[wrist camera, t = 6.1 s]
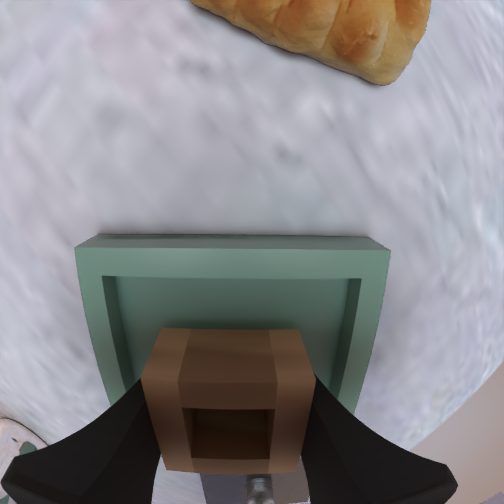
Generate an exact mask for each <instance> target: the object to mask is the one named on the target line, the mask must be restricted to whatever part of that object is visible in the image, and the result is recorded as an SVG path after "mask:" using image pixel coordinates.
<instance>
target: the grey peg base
mask: <svg viewBox="0 0 504 504" xmlns="http://www.w3.org/2000/svg"><path fill="white" fill-rule="evenodd" d="M200 476H201V481H202V486H203V490H204V495H205V499H206V504H288V503H298V502H307V501H308V498H309V488H308V482H307V477H306V473H305V470H304V466H303V462H302V459H299V463H298V467H297V471H296V472H285V473H268V474H211V473H200Z"/></svg>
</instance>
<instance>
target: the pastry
mask: <svg viewBox="0 0 504 504" xmlns="http://www.w3.org/2000/svg"><path fill="white" fill-rule="evenodd" d="M190 1H191V2H192V3H193V4H194V5H195V6H198V7H201V8H204V9H207V10H209V11H210V12H212V13H213V14H215V15H219V16H222V17H224V18H226V19H227V20H228V21H229V22H230V23H232V24H233V25H235V26H237V27H241V28H243V29H245V30H247V31H250V32H251V33H253V34H254V35H256V36H257V37H258V38H260V39H261V40H262V41H263V42H264V43H266V44H269V45H274V46H279V47H280V48H283V49H285V50H288V51H291V52H294V53H301V54H304V55H306V56H309V57H311V58H314V59H316V60H318V61H319V62H321V63H323V64H325V65H328V66H331V67H334V68H336V69H339V70H342V71H345V72H347V73H349V74H352V75H356V76H360V77H361V78H363V79H365V80H367V81H369V82H372V83H374V84H377V85H389V84H391V83H392V82H394V81H395V80H396V79H397V78H398V77H399V76H400V75H401V73H402V72H403V71H404V69H405V67H406V66H407V65H408V64H409V62H410V60H411V58H412V54H413V50H414V49H415V47H416V45H417V44H418V43H419V41H420V40H421V38H422V36H423V35H424V33H425V31H426V29H425V28H426V26H427V21H428V18H429V13H430V5H431V0H190Z"/></svg>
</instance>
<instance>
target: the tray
mask: <svg viewBox="0 0 504 504" xmlns="http://www.w3.org/2000/svg"><path fill="white" fill-rule="evenodd" d="M74 249H75V257H76V264H77V271H78V277H79V283H80V289H81V295H82V300H83V305H84V310H85V315H86V319H87V324H88V328H89V333H90V337H91V341H92V345H93V349H94V353H95V356H96V360H97V364H98V367H99V370H100V374H101V377H102V380H103V384H104V387H105V390H106V393H107V396H108V399H109V402H110V405H111V406H112V405H113V404H114V403H115V402H117V401H118V400H119V399H120V398H121V397H122V396H123V395H124V394H125V393H126V392H127V391H128V390H129V389H130V388H131V387H132V386H133V385H134V384H135V383H136V382H137V380H138V379H139V378H140V377H141V375H142V373H143V370H144V368H145V365H146V363H147V361H148V358H149V356H150V353H151V351H152V349H153V346H154V344H155V342H156V339H157V337H158V335H159V333H160V330H161V328H162V327H165V328H187V329H227V330H271V329H299V332H300V335H301V338H302V341H303V343H304V346H305V349H306V352H307V355H308V358H309V361H310V364H311V367H312V370H313V372H314V373H315V374H316V376H317V377H318V378H319V379H320V381H321V382H322V383H323V384H324V385H325V386H326V388H327V389H328V390H329V391H330V392H331V393H332V394H333V395H334V397H335V398H336V399H337V400H338V401H339V402H340V403H341V404H342V405H343V406H344V407H345V408H346V409H347V410H348V411H349V412H350V413H352V414H354V411H355V408H356V405H357V402H358V398H359V395H360V392H361V388H362V385H363V382H364V378H365V374H366V371H367V367H368V363H369V359H370V355H371V351H372V347H373V343H374V339H375V335H376V330H377V326H378V321H379V316H380V311H381V306H382V301H383V296H384V291H385V285H386V279H387V273H388V266H389V260H390V253H391V250H389V249H387V248H386V247H384V246H383V245H381V244H379V243H378V242H376V241H374V240H373V239H371V238H369V237H342V236H296V235H220V234H104V235H96V236H94V237H92V238H90V239H88V240H87V241H85V242H83V243H81V244H80V245H78V246H76V247H74ZM160 457H162V455H160ZM300 459H301V455H300Z"/></svg>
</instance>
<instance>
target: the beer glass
mask: <svg viewBox="0 0 504 504" xmlns="http://www.w3.org/2000/svg"><path fill="white" fill-rule="evenodd" d="M44 447H47V445H46V444H45V443H44V442H43V441H42V440H41V439H40V438H39V437H38V436H36V435H35V434H34V433H33V432H31V431H30V430H28V429H27V428H25V427H24V426H22V425H21V424H19V423H17V422H15V421H13V420H10V419H0V482H1V479H2V477H3V475H4V474H5V472H6V470H7V468H8V467H9V465H10V463H11V461H12V460H13V458H14V457H15V456H19V455H23V454H26V453H30V452H33V451H36V450H39V449H42V448H44ZM0 504H17V503H16V502H15V501H14V500H13V499H12V498H11V497H10V496H9V495H8V494H7V493H6V492H5V491H4V489H3V488H2V486H1V483H0Z"/></svg>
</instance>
